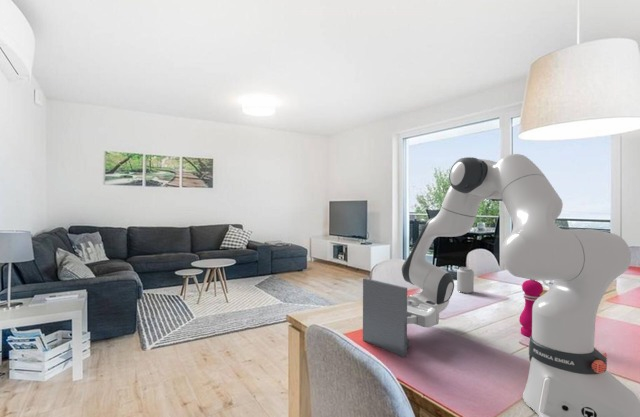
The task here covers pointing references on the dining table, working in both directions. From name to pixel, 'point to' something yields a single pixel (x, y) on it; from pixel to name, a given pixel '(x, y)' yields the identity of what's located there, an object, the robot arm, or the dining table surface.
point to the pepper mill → (529, 305)
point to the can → (465, 280)
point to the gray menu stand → (385, 316)
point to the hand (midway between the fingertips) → (390, 317)
